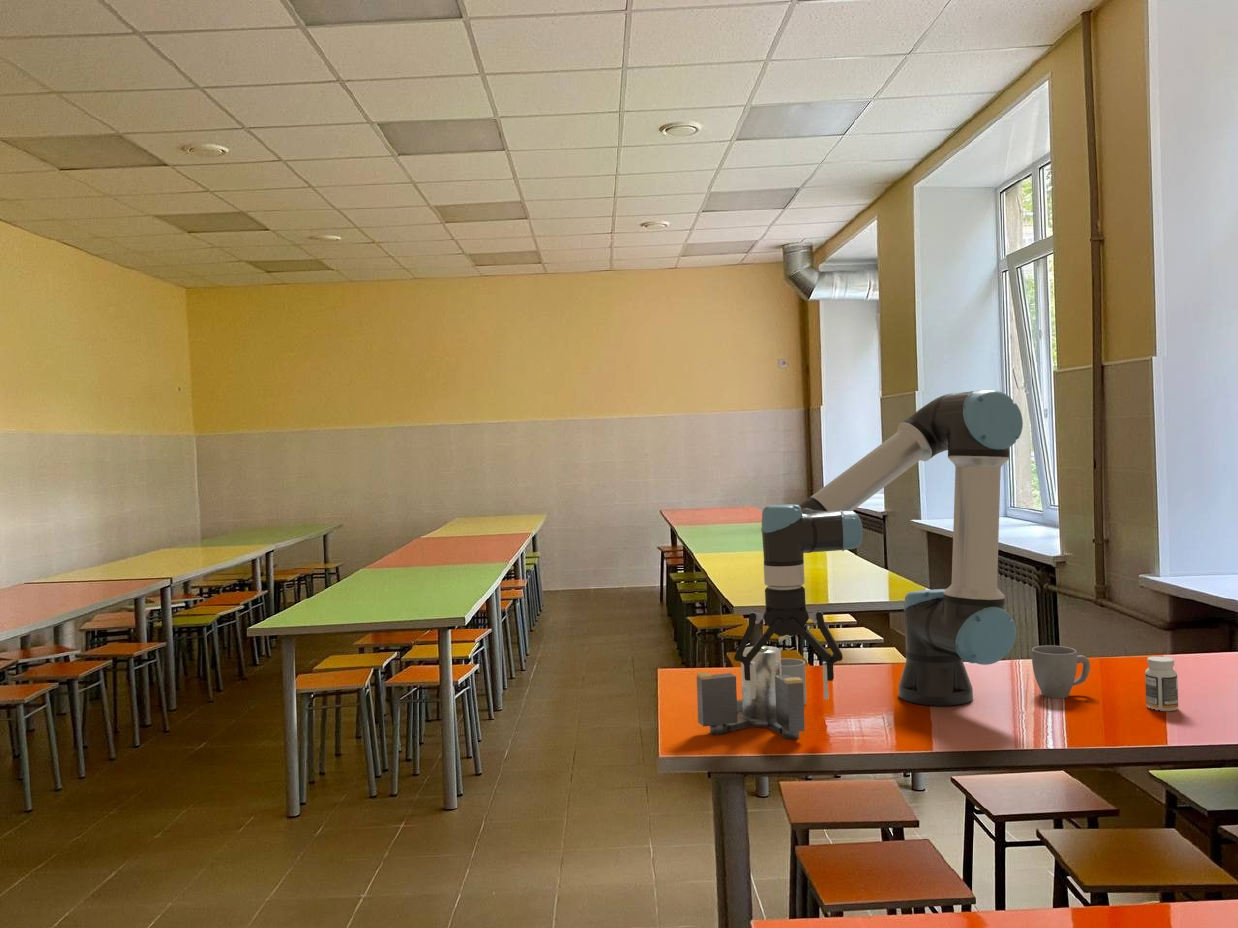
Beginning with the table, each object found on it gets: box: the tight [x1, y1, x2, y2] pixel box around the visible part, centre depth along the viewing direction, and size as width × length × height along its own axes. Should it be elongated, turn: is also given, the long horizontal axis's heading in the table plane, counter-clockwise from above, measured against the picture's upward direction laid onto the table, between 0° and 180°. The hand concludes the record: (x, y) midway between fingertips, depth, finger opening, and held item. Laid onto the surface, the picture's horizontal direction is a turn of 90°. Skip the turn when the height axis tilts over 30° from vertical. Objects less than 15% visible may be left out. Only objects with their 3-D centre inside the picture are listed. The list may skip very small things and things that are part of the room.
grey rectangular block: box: [775, 674, 806, 740], centre depth 187 cm, size 7×3×12 cm, turn 11°
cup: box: [781, 658, 807, 706], centre depth 210 cm, size 7×10×9 cm
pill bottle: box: [1144, 656, 1179, 712], centre depth 197 cm, size 6×6×10 cm
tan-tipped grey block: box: [696, 672, 738, 736], centre depth 191 cm, size 7×3×12 cm, turn 104°
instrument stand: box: [726, 645, 782, 735], centre depth 198 cm, size 13×16×15 cm
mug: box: [1031, 645, 1091, 699], centre depth 210 cm, size 12×9×10 cm
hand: (789, 697), depth 188 cm, fingers open, 13 cm apart
